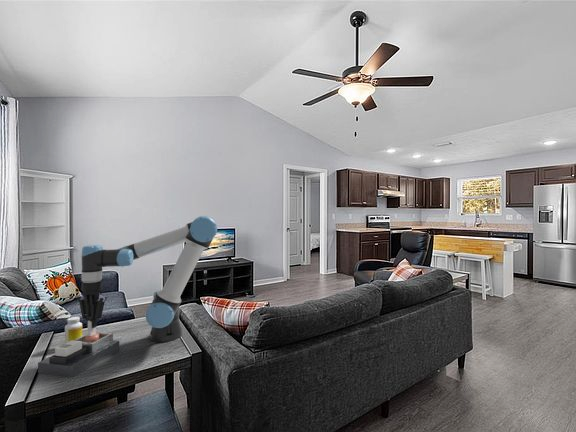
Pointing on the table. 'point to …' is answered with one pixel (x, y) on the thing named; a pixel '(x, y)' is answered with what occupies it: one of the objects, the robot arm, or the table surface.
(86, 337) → the breaker button
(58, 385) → the table surface
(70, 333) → the supplement bottle
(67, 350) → the on button
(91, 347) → the grey stepped block
